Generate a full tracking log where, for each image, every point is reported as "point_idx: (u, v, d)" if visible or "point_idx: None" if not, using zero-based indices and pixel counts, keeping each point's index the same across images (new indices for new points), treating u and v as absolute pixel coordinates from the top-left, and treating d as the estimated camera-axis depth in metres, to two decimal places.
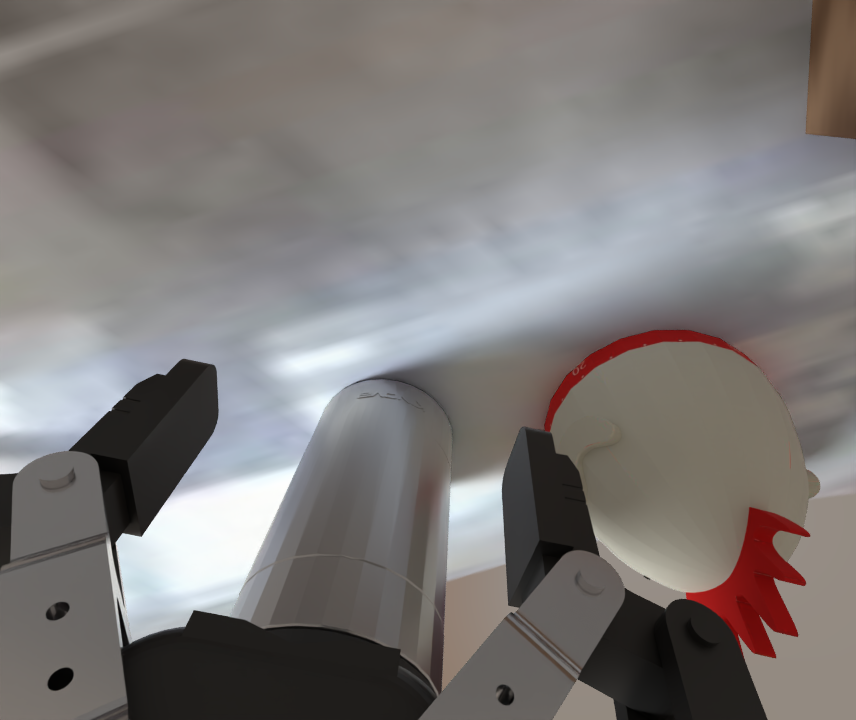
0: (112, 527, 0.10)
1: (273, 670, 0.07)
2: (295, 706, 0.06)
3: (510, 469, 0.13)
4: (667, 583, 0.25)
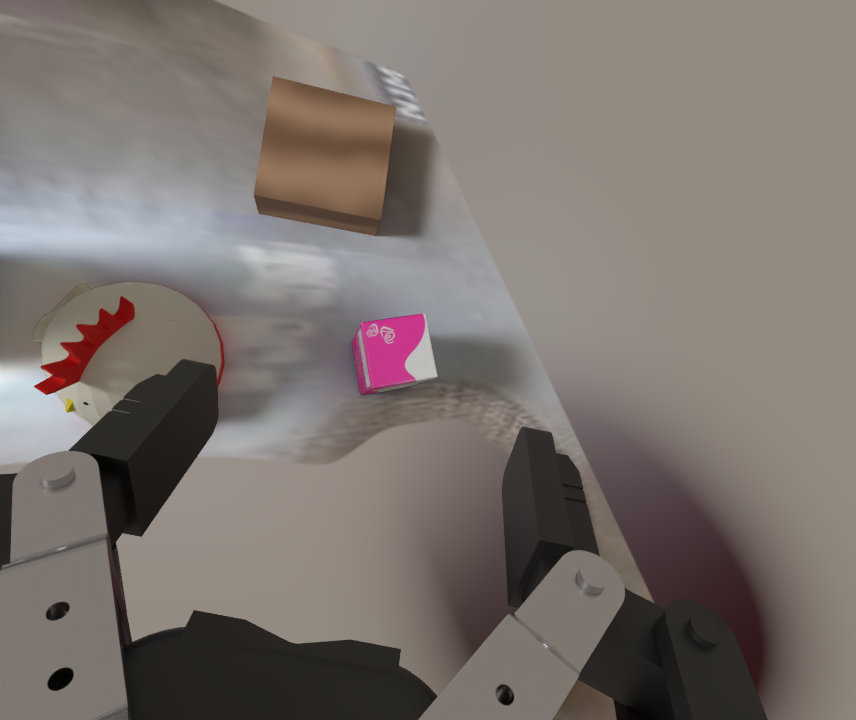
0: (112, 527, 0.10)
1: (273, 670, 0.07)
2: (295, 706, 0.06)
3: (510, 469, 0.13)
4: None
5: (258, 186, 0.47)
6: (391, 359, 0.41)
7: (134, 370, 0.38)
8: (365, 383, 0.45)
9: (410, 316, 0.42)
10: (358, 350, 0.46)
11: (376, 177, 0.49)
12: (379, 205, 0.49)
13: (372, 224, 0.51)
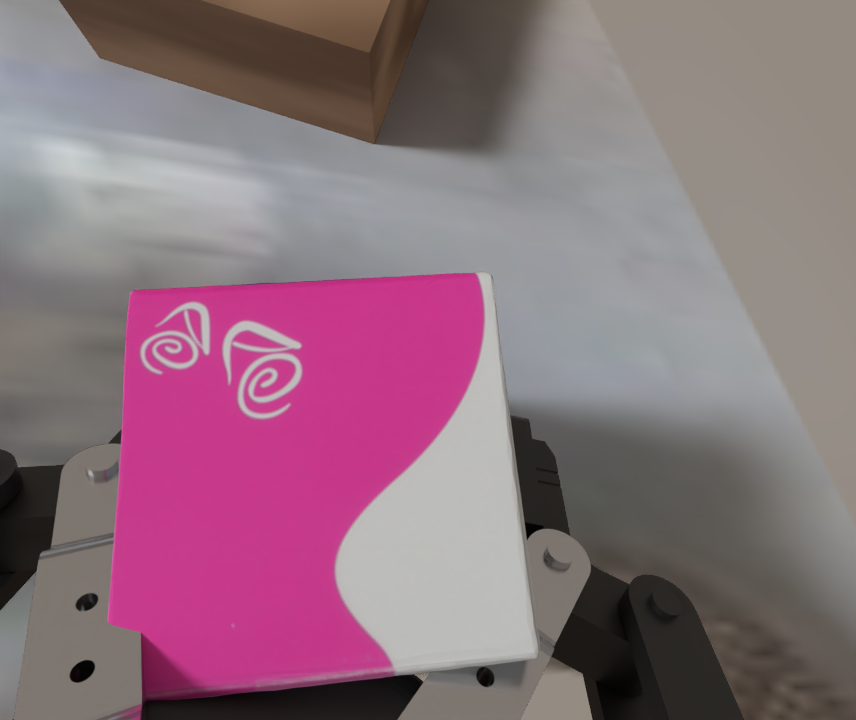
0: None
1: None
2: (295, 706, 0.06)
3: None
4: None
5: None
6: (258, 520, 0.07)
7: None
8: None
9: (406, 281, 0.08)
10: None
11: None
12: (372, 15, 0.17)
13: (353, 83, 0.18)
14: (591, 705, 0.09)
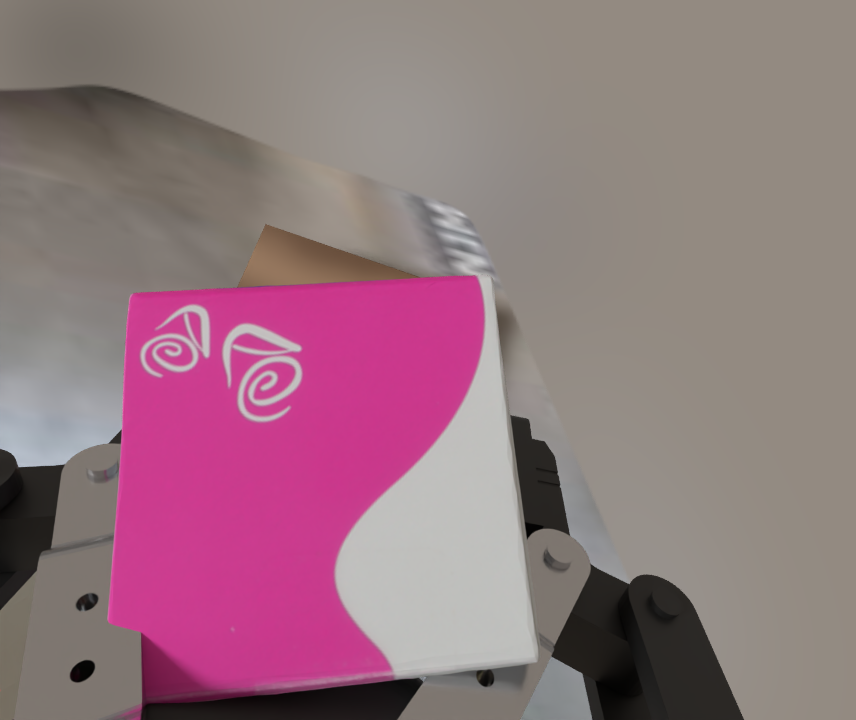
0: None
1: None
2: (295, 706, 0.06)
3: None
4: None
5: None
6: (257, 523, 0.07)
7: None
8: None
9: (406, 284, 0.08)
10: None
11: None
12: None
13: None
14: (590, 705, 0.09)
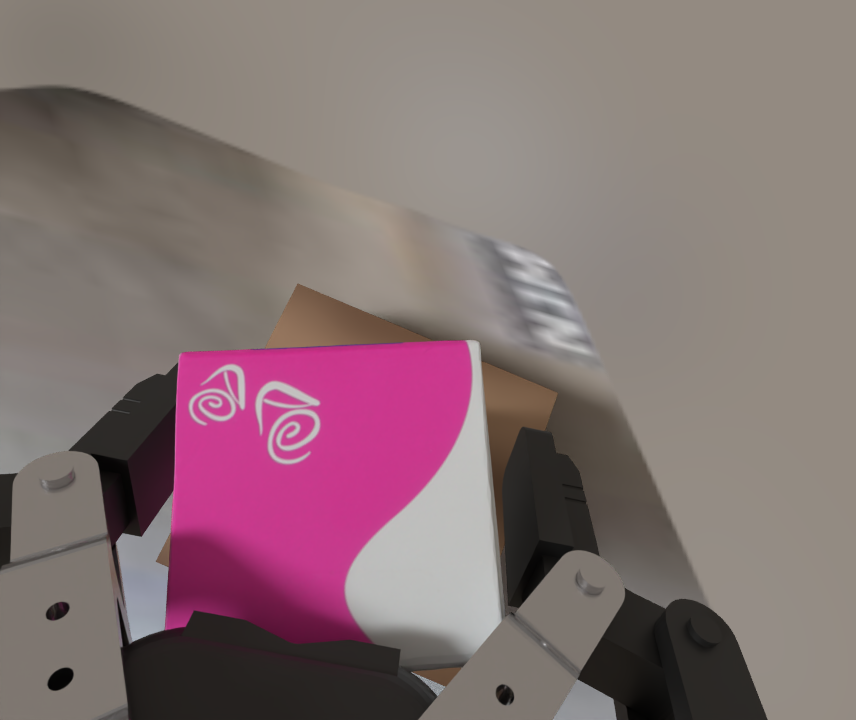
0: (112, 527, 0.10)
1: (273, 670, 0.07)
2: (295, 706, 0.06)
3: (510, 469, 0.13)
4: None
5: None
6: (283, 547, 0.08)
7: None
8: None
9: (407, 348, 0.09)
10: None
11: None
12: None
13: None
14: None
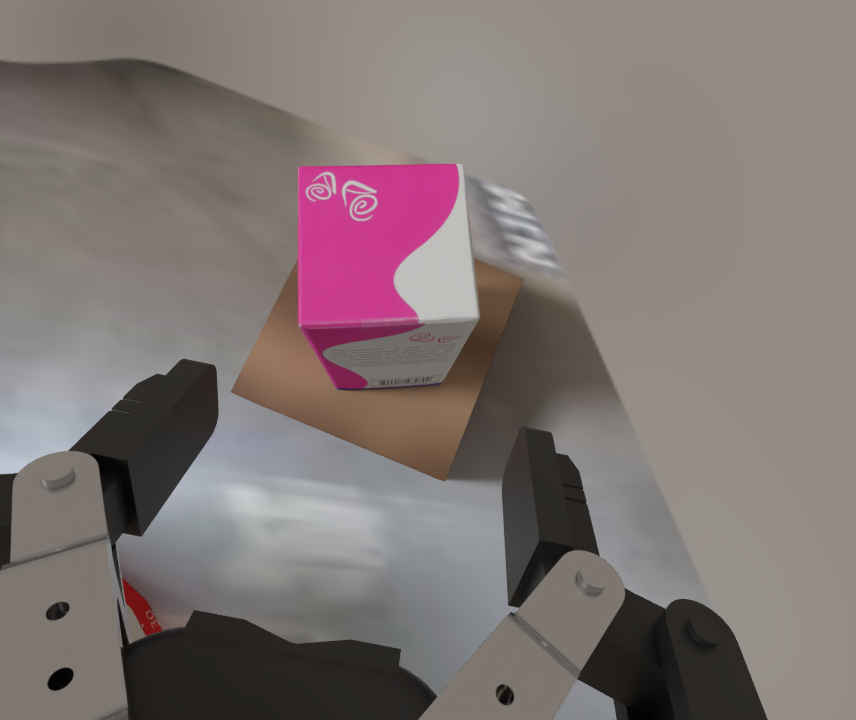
0: (112, 527, 0.10)
1: (273, 670, 0.07)
2: (295, 706, 0.06)
3: (510, 469, 0.13)
4: None
5: (244, 378, 0.26)
6: (360, 260, 0.16)
7: None
8: None
9: (423, 166, 0.17)
10: None
11: (457, 398, 0.27)
12: (448, 452, 0.26)
13: None
14: None
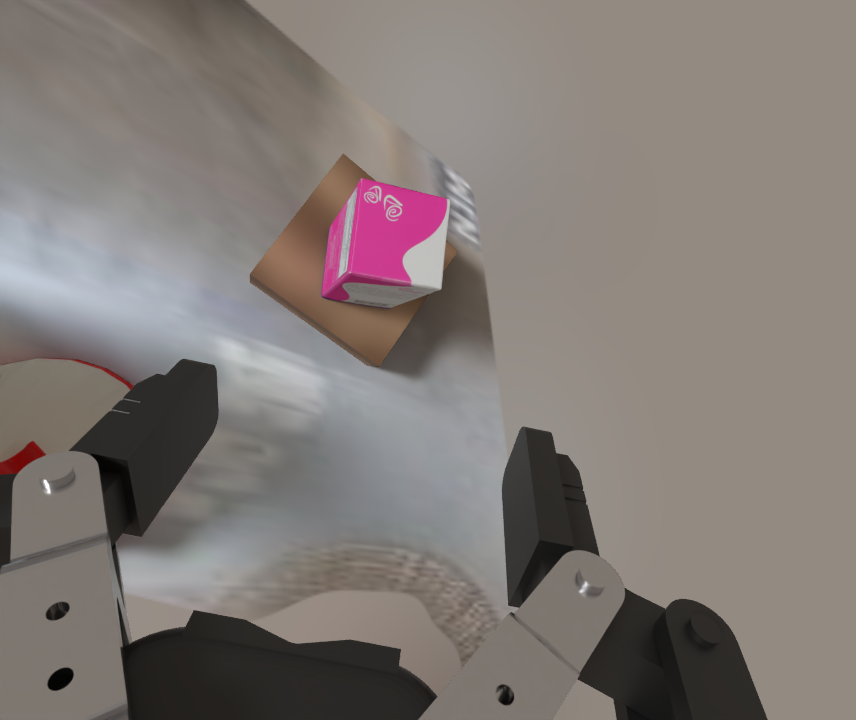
0: (112, 527, 0.10)
1: (273, 670, 0.07)
2: (295, 706, 0.06)
3: (510, 469, 0.13)
4: None
5: (261, 267, 0.37)
6: (387, 243, 0.29)
7: None
8: (337, 273, 0.32)
9: (429, 196, 0.30)
10: (339, 228, 0.33)
11: (398, 316, 0.41)
12: (385, 349, 0.41)
13: (368, 361, 0.42)
14: None
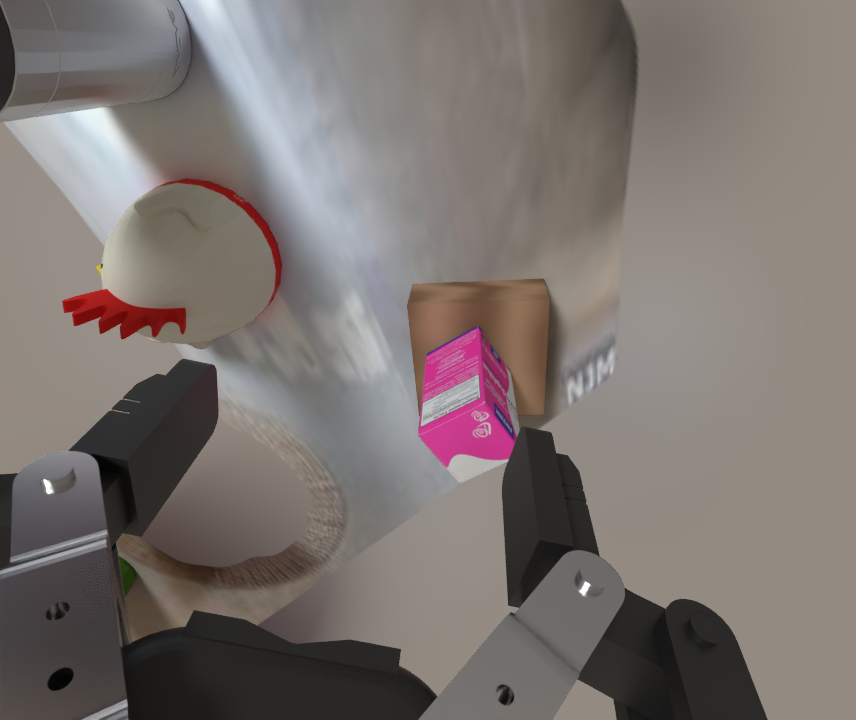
0: (112, 527, 0.10)
1: (273, 670, 0.07)
2: (295, 706, 0.06)
3: (510, 469, 0.13)
4: (108, 276, 0.37)
5: (418, 308, 0.43)
6: (456, 442, 0.35)
7: (146, 335, 0.40)
8: (427, 396, 0.39)
9: (513, 443, 0.35)
10: (462, 369, 0.39)
11: None
12: None
13: None
14: None
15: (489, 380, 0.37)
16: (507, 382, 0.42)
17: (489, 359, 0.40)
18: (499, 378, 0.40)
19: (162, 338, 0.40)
